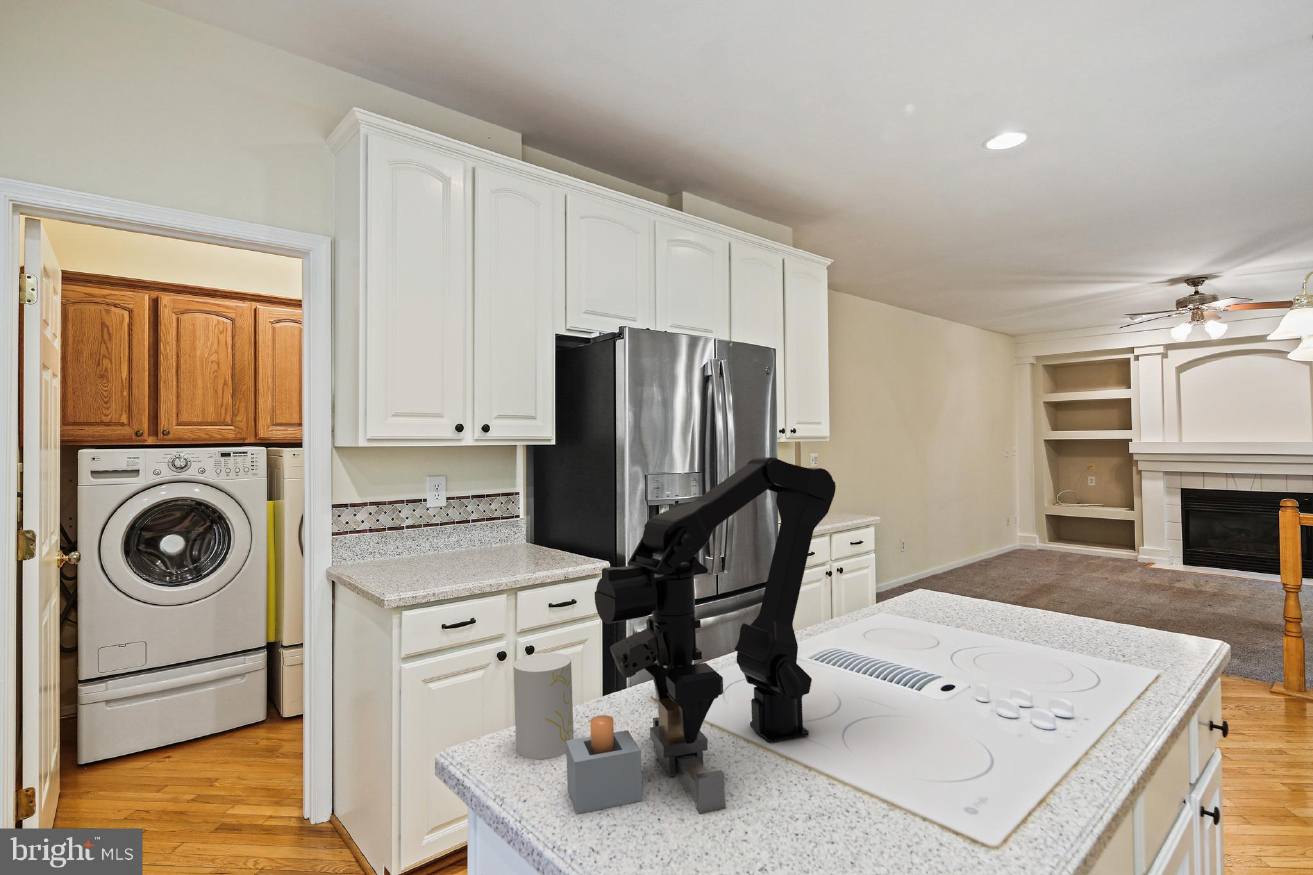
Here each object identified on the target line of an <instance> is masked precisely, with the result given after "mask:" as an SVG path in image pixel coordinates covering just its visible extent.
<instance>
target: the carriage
mask: <svg viewBox="0 0 1313 875" xmlns="http://www.w3.org/2000/svg"><path fill="white" fill-rule="evenodd" d="M657 709H658V710H657V711H658V714H657V715H658V717H659V726H656V727H653V726H651V727H649V739H650V740H651V742H652V743H653V746H654V745H655V748H654V750H655V757H656V758H657V759H658V761H659V763H660V764H661V766H662V767H663V769H664V770H665V772H666V773H667V774H668V776H669V777H673V776H677V775H676V771H675V756H679V755H684V754H690V753H694V754H695V756H696V757H697V758H698V759H699V761H700V762H701V763H702V764H703V765H704V752H705V751H709V748H708V744H709V743H708V738H707V736H706V735H705V734H704V733H703V732H702V731H701V729H700V730H699V733H698V735H697V737H696V740H695V742H694V743H690V744H687V743H686V742H685V738H684V734H683V729H682V723H681V717H680V712H679V706H678V704H676V703H675V702H674V701H673V700H672V699H671V698H665V699H658V701H657Z"/></svg>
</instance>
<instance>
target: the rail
mask: <svg viewBox="0 0 1313 875" xmlns="http://www.w3.org/2000/svg"><path fill="white" fill-rule="evenodd" d="M656 726H659V716H657V717H652V727H656ZM653 748H654V749H655V745H654V744H653ZM675 771H676V775H675V776H676V777H677V778H678V779H679V781H680V782H681V784H682V785H683V786H684V789H686V791H687V792H688V794H689V795H690V797H691V798H692V800H693V801H694V803H695V804H696V811H697V812H698V813H699V814H705V813H709V812H714V811H719V810H723V809H726V791H725V789H726V788H725V786H726V784H725V772H724V771H722V769H718V770H712V771H708V769H707V768H706V767H705V766H704V763H703V764H702V763H701V762H700V761H699V759H698V758H697V757H696V756H695V754H694V753H690V754H684V755H679V756H675Z"/></svg>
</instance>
